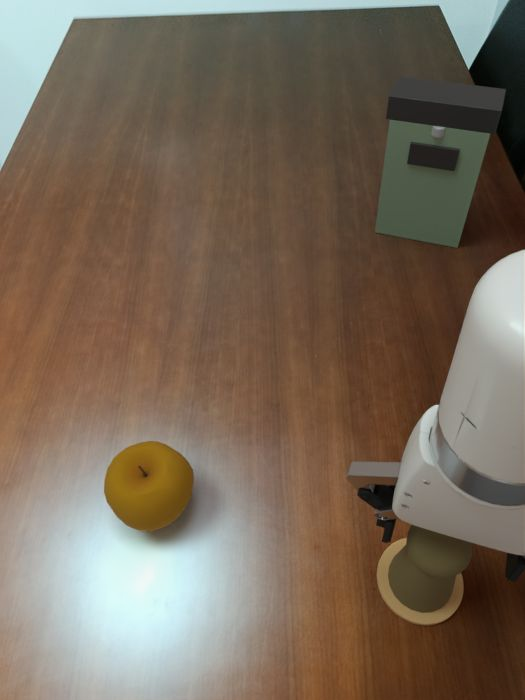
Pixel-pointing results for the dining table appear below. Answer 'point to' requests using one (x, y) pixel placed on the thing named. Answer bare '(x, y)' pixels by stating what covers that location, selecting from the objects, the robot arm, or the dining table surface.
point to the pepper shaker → (427, 569)
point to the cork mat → (402, 610)
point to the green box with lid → (434, 157)
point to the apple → (148, 485)
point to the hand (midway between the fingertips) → (448, 543)
